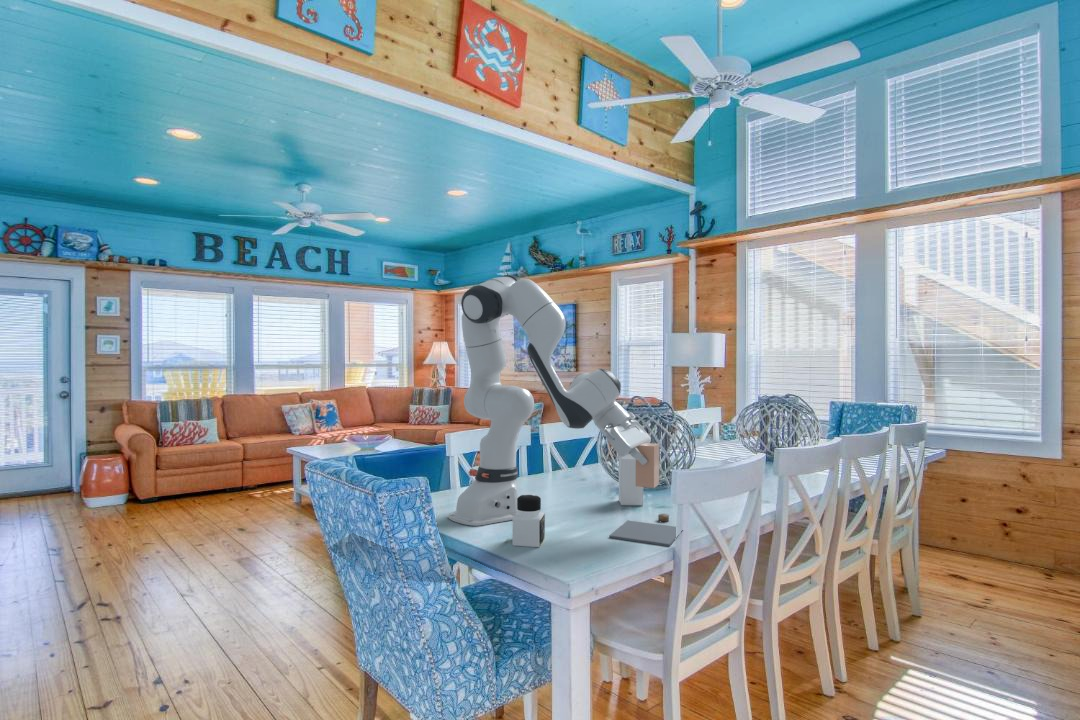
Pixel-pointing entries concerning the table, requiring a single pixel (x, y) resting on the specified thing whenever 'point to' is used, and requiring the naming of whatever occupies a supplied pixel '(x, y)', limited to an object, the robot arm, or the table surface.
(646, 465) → the tan upright wooden block
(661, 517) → the puck
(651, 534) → the mat
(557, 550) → the table surface
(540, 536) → the medicine bottle
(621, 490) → the milk carton
